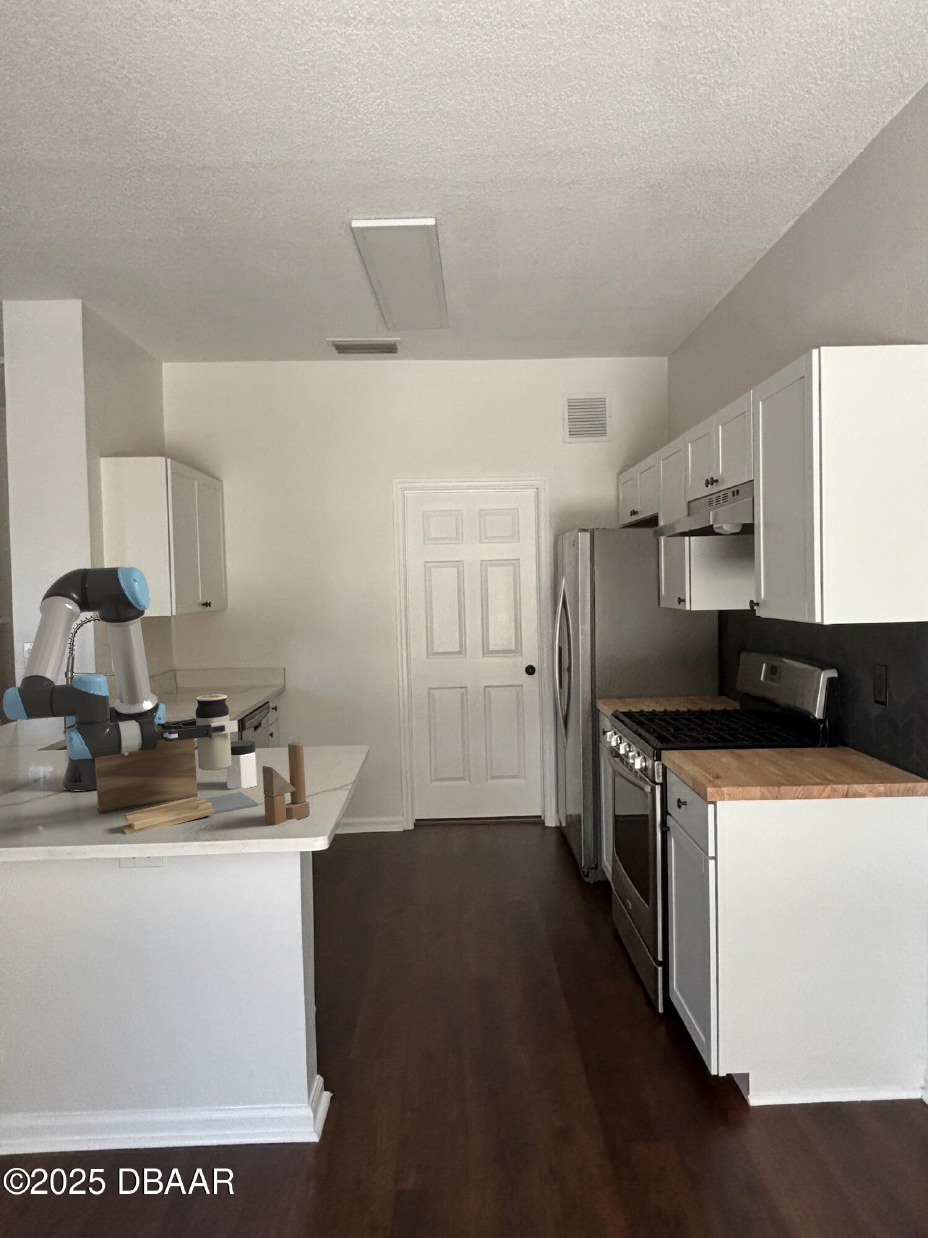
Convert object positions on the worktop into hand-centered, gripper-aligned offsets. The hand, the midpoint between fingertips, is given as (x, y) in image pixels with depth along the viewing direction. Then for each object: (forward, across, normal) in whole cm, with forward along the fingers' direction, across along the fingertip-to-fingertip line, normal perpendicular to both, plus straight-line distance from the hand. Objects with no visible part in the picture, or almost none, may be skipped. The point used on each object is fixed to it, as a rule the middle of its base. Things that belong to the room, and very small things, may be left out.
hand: (231, 723), depth 212 cm
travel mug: (-5, 0, -11) cm, 12 cm away
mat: (-4, +1, -21) cm, 21 cm away
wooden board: (-19, -12, -21) cm, 31 cm away
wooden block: (+6, +22, -21) cm, 31 cm away
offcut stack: (-18, +8, -20) cm, 28 cm away
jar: (+7, -18, -21) cm, 28 cm away
